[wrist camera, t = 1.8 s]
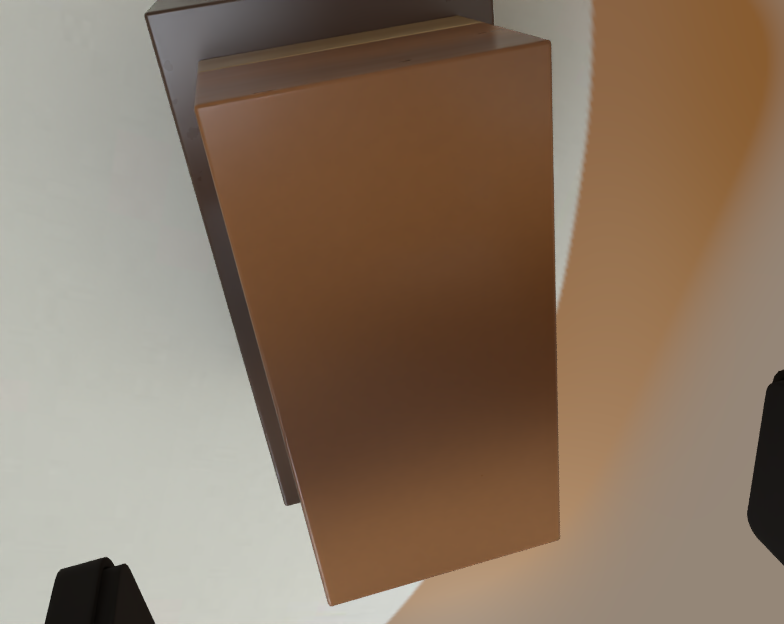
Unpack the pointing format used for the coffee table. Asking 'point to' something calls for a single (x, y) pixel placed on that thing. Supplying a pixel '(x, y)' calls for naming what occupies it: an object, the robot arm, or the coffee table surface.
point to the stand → (179, 73)
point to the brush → (399, 286)
